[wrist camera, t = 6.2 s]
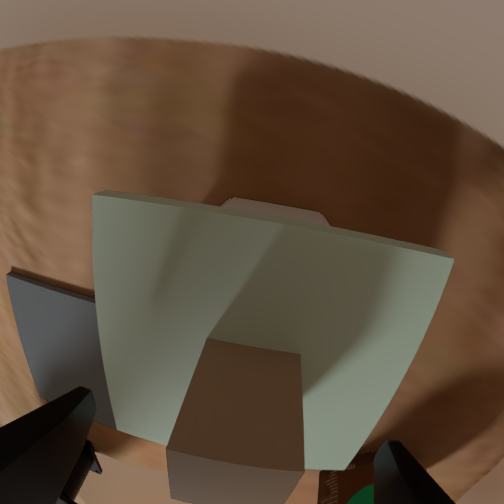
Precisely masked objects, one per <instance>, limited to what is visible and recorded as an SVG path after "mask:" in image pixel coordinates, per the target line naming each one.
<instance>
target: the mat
mask: <svg viewBox="0 0 504 504" xmlns="http://www.w3.org/2000/svg"><path fill="white" fill-rule="evenodd" d="M6 278H7V284H8V289H9V294H10V299H11V303H12V308H13V312H14V316H15V320H16V324H17V328H18V332H19V335H20V339H21V342H22V346H23V349H24V352H25V356H26V359H27V362H28V365H29V368H30V371H31V374H32V377H33V379H34V382H35V385H36V387H37V390H38V393H39V395H40V397H42V398H44V399H46V400H48V401H52V400H54V399H56V398H58V397H60V396H62V395H64V394H65V393H67V392H69V391H71V390H73V389H75V388H77V387H79V386H83V387H86V388H89V389H91V390H92V391H93V394H94V398H95V402H96V406H97V411H96V414H95V417H94V420H93V421H95V422H98V423H100V424H103V425H106V426H108V427H111V428H114V429H116V430H117V427H116V423H115V419H114V415H113V411H112V406H111V401H110V397H109V392H108V387H107V381H106V376H105V370H104V364H103V358H102V352H101V345H100V338H99V330H98V321H97V312H96V302H95V298H92V297H89V296H85V295H82V294H78V293H75V292H72V291H68V290H65V289H62V288H58V287H55V286H52V285H49V284H46V283H42V282H39V281H36V280H33V279H30V278H27V277H24V276H21V275H18V274H15V273H13V272H9V273H8V274H6Z"/></svg>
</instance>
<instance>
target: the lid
mask: <svg viewBox="0 0 504 504" xmlns="http://www.w3.org/2000/svg"><path fill="white" fill-rule="evenodd" d="M92 256H93V276H94V290H95V302H96V312H97V321H98V330H99V338H100V345H101V352H102V358H103V364H104V370H105V376H106V381H107V387H108V392H109V397H110V401H111V406H112V411H113V415H114V419H115V423H116V427H117V430H118V431H121V432H124V433H127V434H130V435H133V436H136V437H139V438H142V439H146V440H149V441H152V442H156V443H159V444H163V445H166V446H167V447H166V457H167V467H168V477H169V486H170V494H171V498H172V499H176V500H179V501H183V502H188V503H192V504H284V503H285V502H286V500H287V499H288V497H289V496H290V494H291V493H292V491H293V490H294V488H295V487H296V485H297V484H298V482H299V480H300V479H301V477H302V476H303V474H304V472H305V469H318V470H345V469H346V467H347V466H348V465H349V463H350V462H351V460H352V459H353V458H354V456H355V455H356V453H357V452H358V451H359V449H360V448H361V446H362V445H363V443H364V442H365V440H366V439H367V437H368V436H369V434H370V433H371V431H372V430H373V428H374V427H375V425H376V424H377V422H378V420H379V419H380V417H381V416H382V414H383V412H384V411H385V409H386V407H387V406H388V404H389V402H390V401H391V399H392V397H393V395H394V394H395V392H396V390H397V388H398V387H399V385H400V383H401V381H402V379H403V377H404V376H405V374H406V372H407V370H408V368H409V366H410V364H411V362H412V360H413V358H414V356H415V354H416V352H417V350H418V348H419V346H420V344H421V342H422V339H423V337H424V335H425V333H426V331H427V329H428V326H429V324H430V322H431V319H432V317H433V315H434V312H435V310H436V308H437V305H438V303H439V300H440V298H441V295H442V292H443V290H444V287H445V285H446V282H447V279H448V276H449V273H450V271H451V268H452V265H453V262H454V258H452V257H451V256H450V255H449V254H447V253H446V252H445V251H444V250H440V249H435V248H431V247H427V246H422V245H418V244H413V243H409V242H404V241H400V240H395V239H391V238H386V237H381V236H376V235H372V234H367V233H362V232H357V231H352V230H347V229H342V228H337V227H332V226H327V225H322V224H317V223H311V222H306V221H301V220H295V219H290V218H284V217H279V216H273V215H267V214H262V213H256V212H250V211H244V210H238V209H232V208H226V207H220V206H214V205H207V204H201V203H195V202H188V201H181V200H175V199H168V198H161V197H154V196H147V195H139V194H132V193H124V192H117V191H109V190H104V191H101V192H98V193H95V194H93V195H92Z"/></svg>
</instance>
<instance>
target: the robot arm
mask: <svg viewBox="0 0 504 504" xmlns="http://www.w3.org/2000/svg"><path fill="white" fill-rule="evenodd" d="M96 411H97V406H96V402H95V398H94V394H93V391H92V390H91V389H89V388H86V387H83V386H79V387H77V388H75V389H73V390H71V391H69V392H67V393H65V394H64V395H62V396H60V397H58V398H56V399H54V400H52V401H50V402H49V403H47V404H45V405H43V406H41V407H39V408H37V409H35V410H33V411H31V412H30V413H28V414H26V415H24V416H22V417H20V418H18V419H16V420H14V421H12V422H10V423H8V424H6V425H4V426H2V427H0V504H77V503H76V502H74V500H75V498H76V496H77V494H78V492H79V490H80V488H81V486H82V484H83V482H84V480H85V478H86V476H87V474H88V472H89V470H91V471H93V472H96V473H98V474H101V473H102V469H101V467H100V464H99V462H98V459H97V457H96V455H95V452H94V450H93V447H92V445H91V443H89V442H88V441H86V438H87V436H88V433H89V430H90V427H91V425H92V422H93V420H94V417H95V414H96ZM373 502H374V504H455V503H454V502H453V500H452V499H451V498H450V497H449V496H448V495H447V494H446V493H445V492H444V490H443V489H442V488H441V487H440V486H439V485H438V484H437V483H436V482H435V480H434V479H433V478H432V477H431V476H430V475H429V474H428V473H427V472H426V470H425V469H424V468H423V467H422V466H421V465H420V464H419V463H418V461H417V460H416V459H415V458H414V457H413V456H412V455H411V454H410V452H409V451H408V450H407V449H406V448H405V447H404V446H403V445H402V443H401V442H400V441H398V440H388V441H386V442H385V443H384V444H383V445H382V447H381V448H380V449H379V451H378V452H377V453H376V455H375V458H374V490H373Z"/></svg>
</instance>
